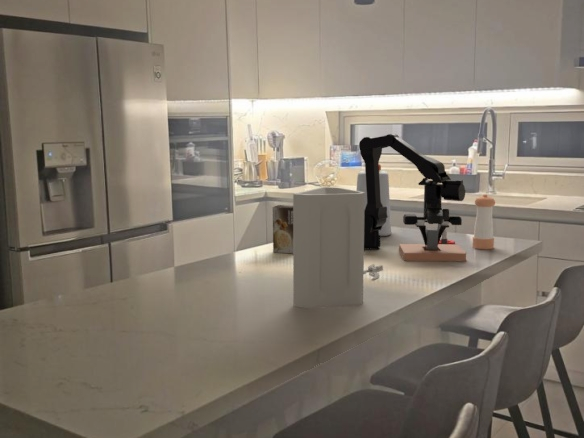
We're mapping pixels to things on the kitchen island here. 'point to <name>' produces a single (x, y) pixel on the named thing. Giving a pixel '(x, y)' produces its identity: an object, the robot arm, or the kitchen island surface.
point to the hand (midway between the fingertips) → (431, 244)
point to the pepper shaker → (484, 223)
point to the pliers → (374, 271)
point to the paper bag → (328, 247)
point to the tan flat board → (432, 253)
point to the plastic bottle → (383, 196)
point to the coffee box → (283, 229)
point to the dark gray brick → (431, 239)
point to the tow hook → (445, 239)
